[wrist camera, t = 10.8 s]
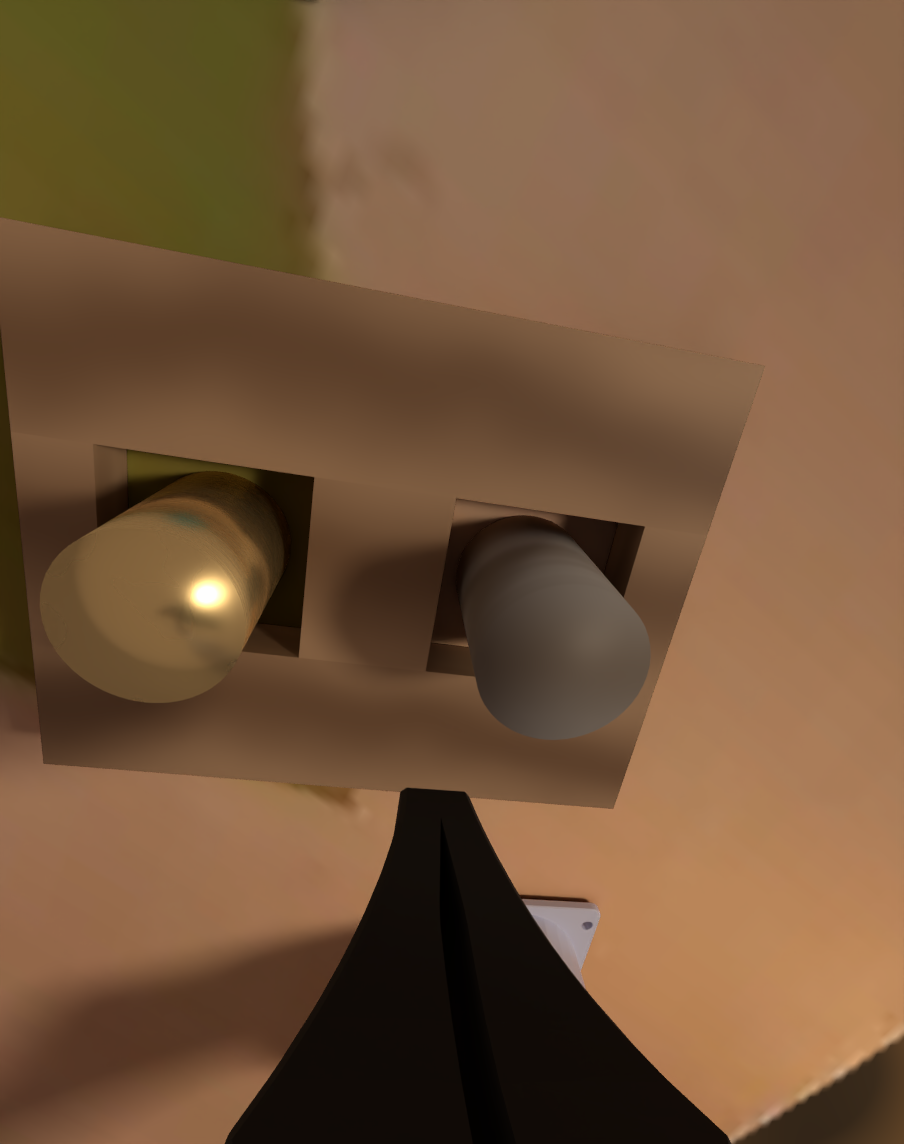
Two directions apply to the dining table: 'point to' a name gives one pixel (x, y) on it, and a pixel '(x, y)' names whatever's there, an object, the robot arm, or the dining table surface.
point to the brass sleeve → (167, 588)
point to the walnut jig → (371, 514)
